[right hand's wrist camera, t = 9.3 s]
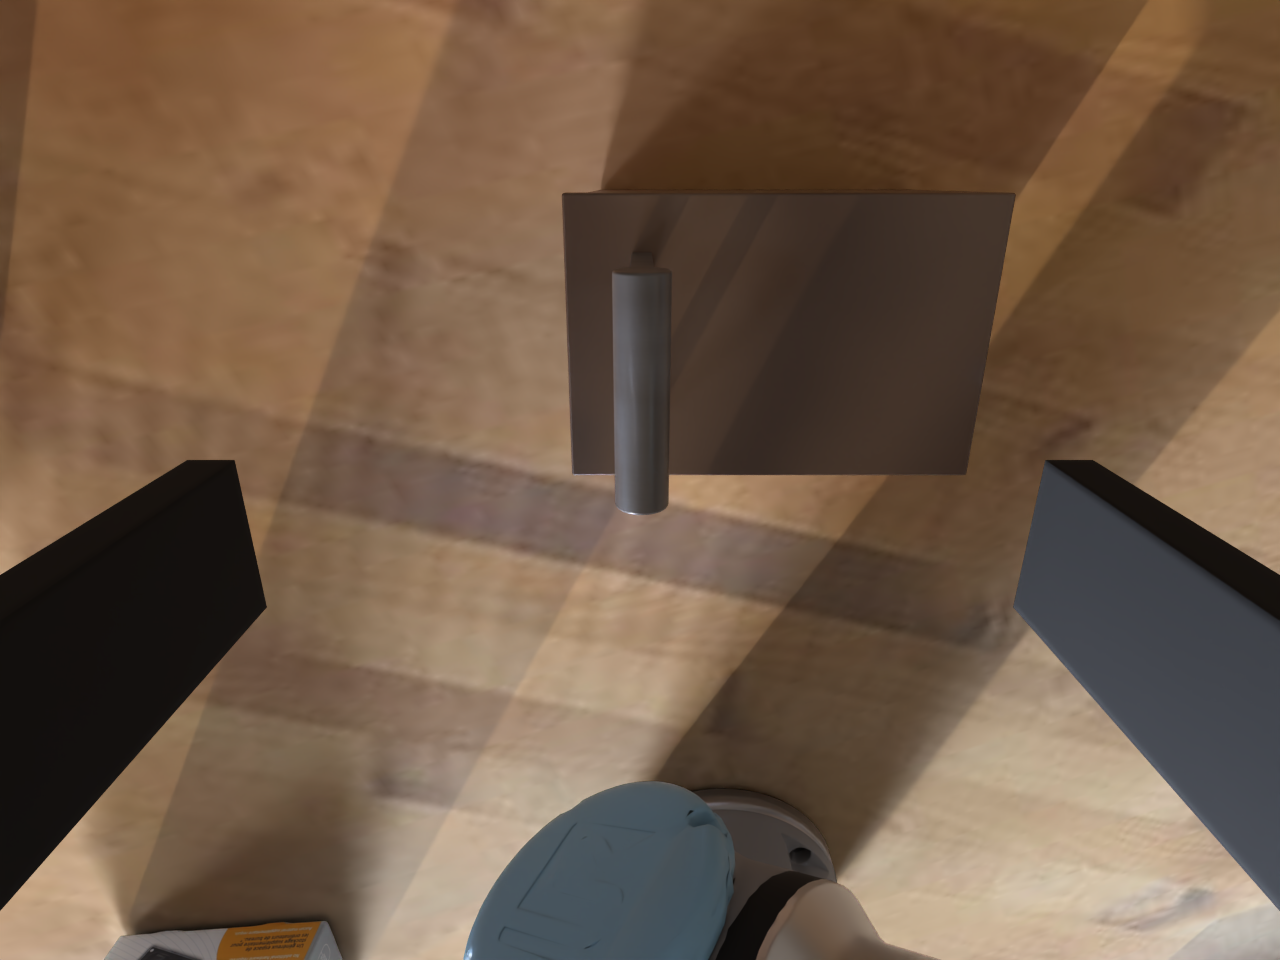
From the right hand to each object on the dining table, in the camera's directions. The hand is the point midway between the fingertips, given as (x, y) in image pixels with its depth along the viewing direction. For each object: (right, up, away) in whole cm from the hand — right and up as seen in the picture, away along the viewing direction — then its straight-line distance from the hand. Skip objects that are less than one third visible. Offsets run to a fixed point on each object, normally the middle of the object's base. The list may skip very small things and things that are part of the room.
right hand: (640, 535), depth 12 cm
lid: (+5, +6, +15) cm, 17 cm away
